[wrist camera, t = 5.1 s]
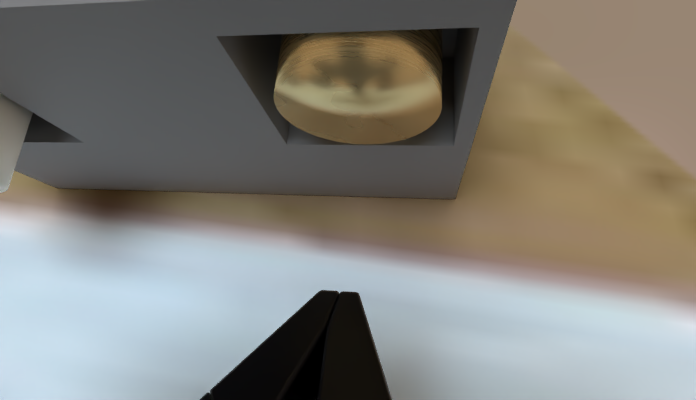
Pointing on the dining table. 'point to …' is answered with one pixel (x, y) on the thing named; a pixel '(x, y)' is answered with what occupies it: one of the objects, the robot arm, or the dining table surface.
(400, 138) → the brass button
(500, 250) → the dining table surface
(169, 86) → the console
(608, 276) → the dining table surface
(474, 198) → the dining table surface
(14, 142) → the cream button
